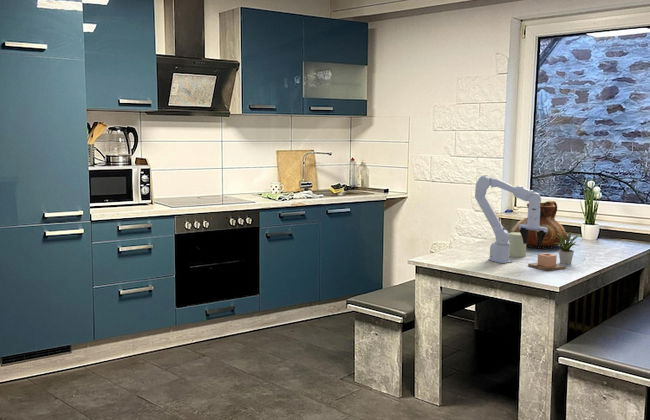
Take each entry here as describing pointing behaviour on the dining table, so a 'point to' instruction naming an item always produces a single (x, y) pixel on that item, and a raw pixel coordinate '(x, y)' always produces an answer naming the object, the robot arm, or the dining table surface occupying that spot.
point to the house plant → (566, 248)
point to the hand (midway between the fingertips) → (532, 244)
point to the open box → (547, 259)
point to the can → (516, 245)
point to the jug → (546, 221)
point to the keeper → (546, 267)
